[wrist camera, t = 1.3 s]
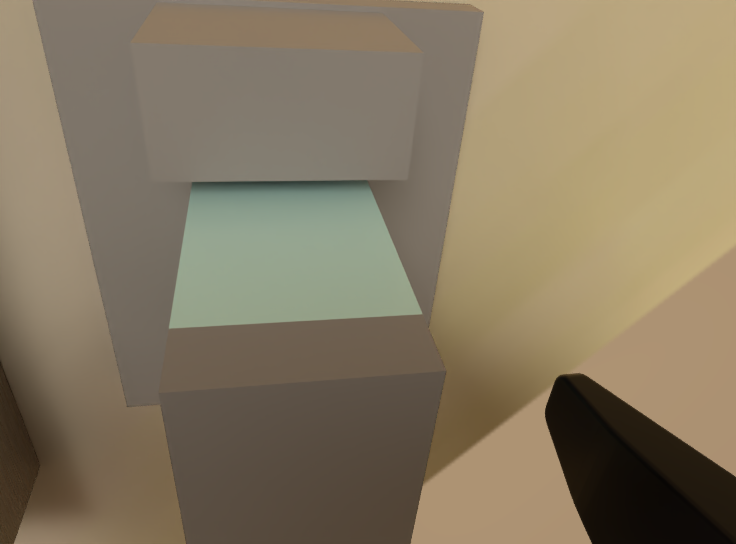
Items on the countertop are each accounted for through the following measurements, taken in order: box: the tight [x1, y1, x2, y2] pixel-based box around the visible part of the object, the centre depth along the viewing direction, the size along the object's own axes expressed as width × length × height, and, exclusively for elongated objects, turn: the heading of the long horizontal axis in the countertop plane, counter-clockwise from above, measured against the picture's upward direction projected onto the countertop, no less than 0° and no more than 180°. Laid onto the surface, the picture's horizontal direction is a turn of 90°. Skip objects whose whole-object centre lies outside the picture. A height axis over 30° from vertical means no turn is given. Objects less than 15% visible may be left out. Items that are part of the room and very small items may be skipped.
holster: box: [32, 0, 484, 407], centre depth 12 cm, size 10×8×4 cm
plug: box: [158, 180, 446, 544], centre depth 10 cm, size 5×3×7 cm, turn 176°
